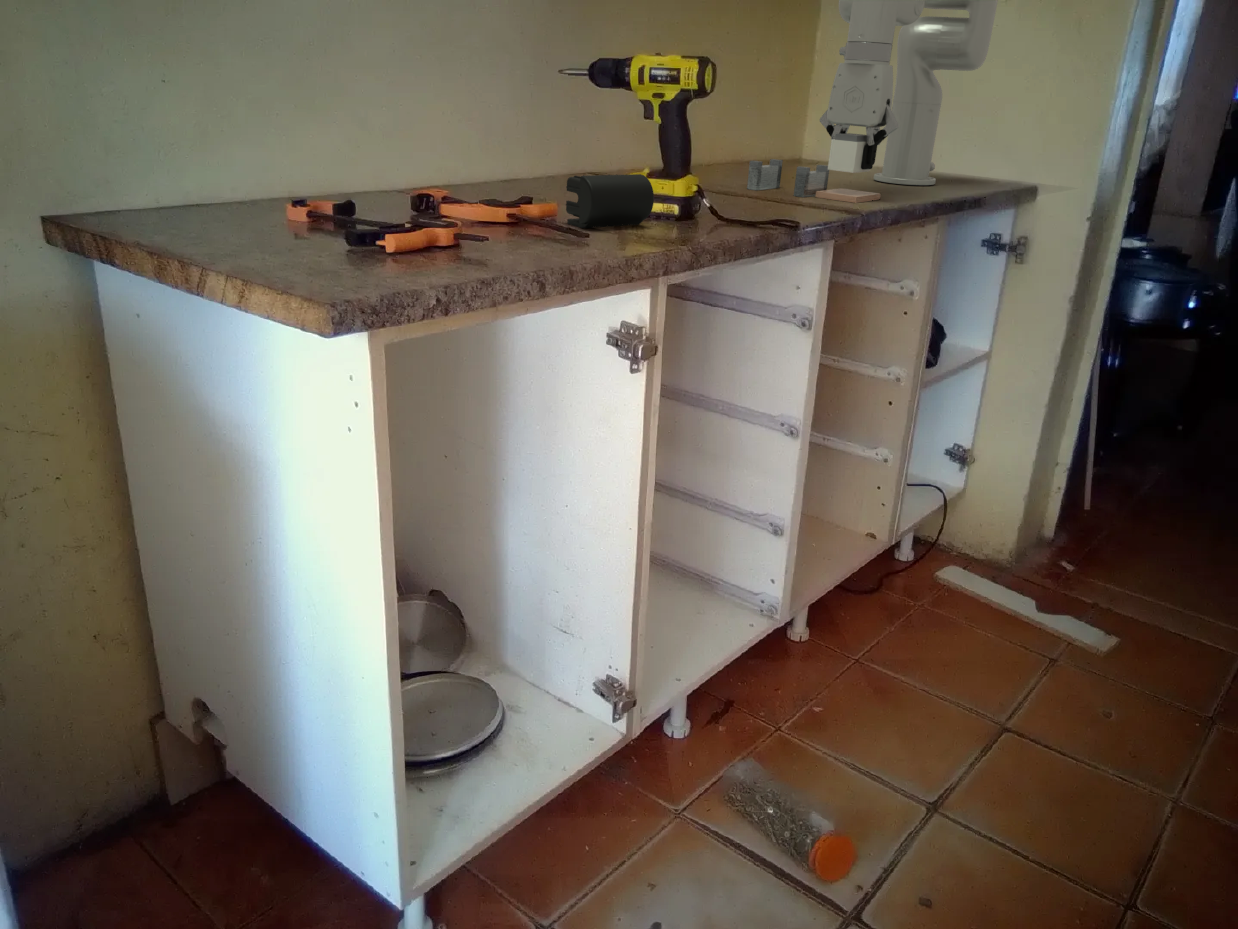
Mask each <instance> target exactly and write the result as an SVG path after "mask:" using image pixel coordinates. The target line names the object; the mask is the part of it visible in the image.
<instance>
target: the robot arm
mask: <svg viewBox="0 0 1238 929" xmlns="http://www.w3.org/2000/svg"><path fill="white" fill-rule="evenodd" d="M998 2H999V0H838V12H839V15H840V18H841V19H842V20H843V21H844V22H845V23H847V24H849V26H848V33H847V40H846V41H847V42H845V46H841V47H840V48H839V52H838V53H839V55H840V56H843V59H844V61H843V62H839V64H838V65H837V69H836V72H835V76H834V80H833V82H832V87H831V91H830V96H829V100H828V106H827V107H828V108H827V109H826V111H825V112H824V113H822V115H821V117H820V118H819V122H820V123H821V125H822V126H823V127H824V128H825V129H826V132H827V134H828V135H829V136H830V139H831V140H833V139H835V134H841V133H848V131H849V129H850V126H853V127H865V132H866V134H865V135H867V145H864V149H863V156H862V163H861V169H870V170H872V169H873V166H874V164H875V162H876V156H877V151H878V146H880V145H881V143H882V142H883V141H884V140H885V139H886V138H887V139H886V145H885V152H884V158H883V163H882V164H883V165H882V172H878V173H874V175H873V180H874V181H877V182H880V183H881V182H882V183H889V184H897V185H908V186H934V185H935V184H936V178H935V177H932V176H930V172H933V171H934V170H935V168H936V164H935V163H934V162H933V161H932V158H933V154H934V149H935V148H934V147H935V141H936V135H937V129H938V124H939V118H940V114H941V113H940V112H941V107H942V101H943V90H942V87H941V84H940V82H939V80H938V79H937V77H936V75H935V72H934V71H940V70H941V71H964V72H965V71H966V72H968V71H976V70H978V69H979V68H981V67H982V66H983V64H984V63H985V61H986V58H987V55H988V52H989V49H990V45H991V44H990V42H991V38H992V34H993V28H994V23H995V18H996V12H997V7H998ZM924 9H930V10H947V11H948V10H955V11H967V13H969V15H968V16H969V17H961V16H960V17H954V16H951V17H950V16H933V15H932V16H921V15H922V13H923V11H924ZM896 27H901V28H900V29H899V32H898V36H897V45H896V47H897V48H896V51H897V52H896V58H897V59H896V64H897V65H896V77H895V86H894V68H893V65H890V63H891V58H892V57H891V56H892V51H893V50H892V49H893V44H894V38H895V32H896ZM893 94H894V95H893ZM882 127H883V128H882ZM881 128H882V129H881Z"/></svg>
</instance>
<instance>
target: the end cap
mask: <svg viewBox="0 0 1238 929" xmlns="http://www.w3.org/2000/svg"><path fill="white" fill-rule="evenodd" d="M565 187H566V191H567V192H570V193H573V194H574V193H575V194H576V195H577V201H573V200H566V203H565V206H566V207H565V208H566V209H565V210H566V213H567V214H568V215H572V216H573V217H575V218H567V224H568V225H569V226H574V227H578V228H580V229H591V228H592V229H593V228H609V227H622V226H638V225H640V224H642V222H644V220H646V219H647V218H649V216H650V215H651V213H652V210H653V209H654V208H653V207H654V203H655V202H654V200H655V194H654V189H653V186H652V183H651V181H650V180H649V178H648V177H647V176H646V175H643V174H641V173H639V174H635V173H634V174H599V175H597V174H596V175H594V174H593V175H592V174H591V175H584V174H583V175H581V176H580V175H574V176H570V177H569V176H568V178H567V180H566V186H565Z"/></svg>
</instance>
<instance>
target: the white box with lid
mask: <svg viewBox="0 0 1238 929" xmlns="http://www.w3.org/2000/svg"><path fill="white" fill-rule="evenodd" d="M864 145H867V134H861V133H851V132H847V133H841V134H835V139H833V140H831V141H830V148H829V157H828V164H827V166H828V170H829V171H835V172H836V171H837V172H843V173H844V172H845V173H851V174H852V173H853V174H854V173H866V172H867V173H868V172H870V171H871V169H861V163H862V156H863V149H864Z"/></svg>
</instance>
